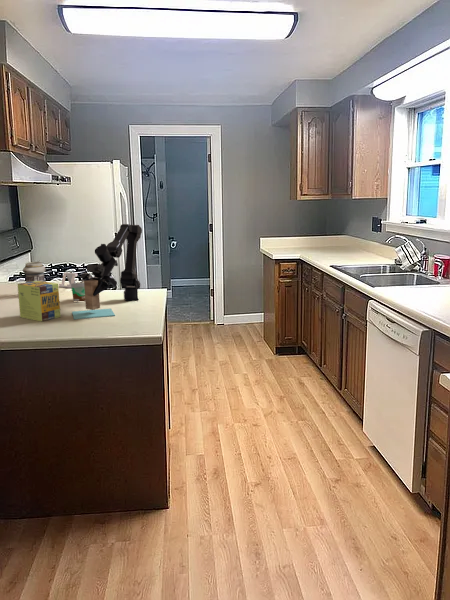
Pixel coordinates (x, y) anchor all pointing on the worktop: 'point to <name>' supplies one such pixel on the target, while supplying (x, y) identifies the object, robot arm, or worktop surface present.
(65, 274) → the portable electronic device stand
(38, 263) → the apothecary jar
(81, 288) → the food container
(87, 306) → the walnut block
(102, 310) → the teal mat
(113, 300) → the worktop surface
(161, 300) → the worktop surface
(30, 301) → the protein box
